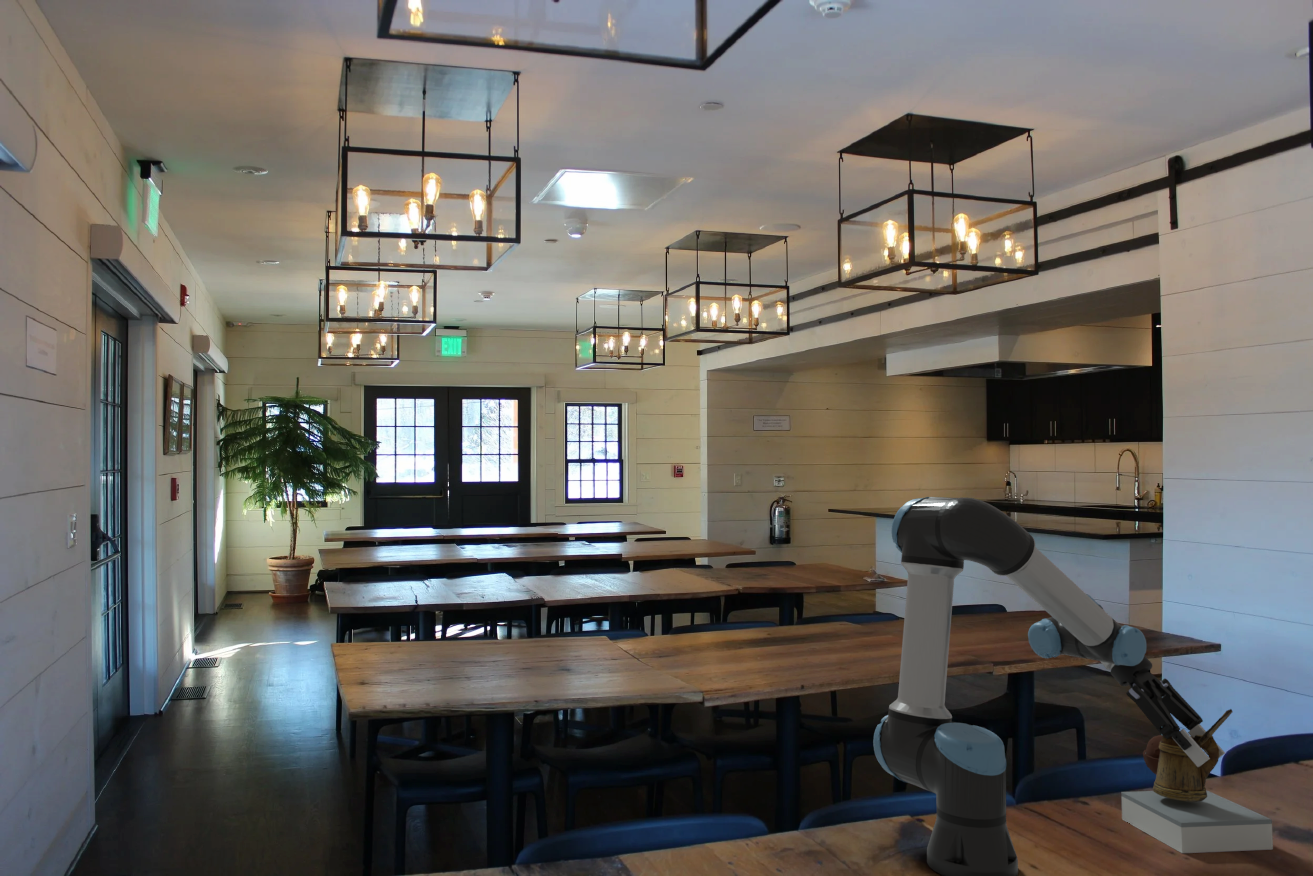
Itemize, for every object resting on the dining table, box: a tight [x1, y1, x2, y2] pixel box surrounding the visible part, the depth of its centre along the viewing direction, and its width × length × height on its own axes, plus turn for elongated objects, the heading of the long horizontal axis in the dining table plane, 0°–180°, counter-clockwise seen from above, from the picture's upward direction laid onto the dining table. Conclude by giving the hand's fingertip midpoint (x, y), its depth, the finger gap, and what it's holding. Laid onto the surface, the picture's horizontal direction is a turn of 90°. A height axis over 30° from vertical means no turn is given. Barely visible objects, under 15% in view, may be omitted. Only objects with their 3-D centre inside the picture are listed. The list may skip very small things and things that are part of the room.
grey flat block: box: [1120, 789, 1274, 854], centre depth 181 cm, size 18×18×5 cm
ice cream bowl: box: [1142, 734, 1162, 775], centre depth 201 cm, size 11×11×15 cm
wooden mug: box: [1152, 708, 1233, 802], centre depth 182 cm, size 9×14×18 cm, turn 49°
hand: (1211, 760), depth 179 cm, fingers closed on wooden mug, 6 cm apart
